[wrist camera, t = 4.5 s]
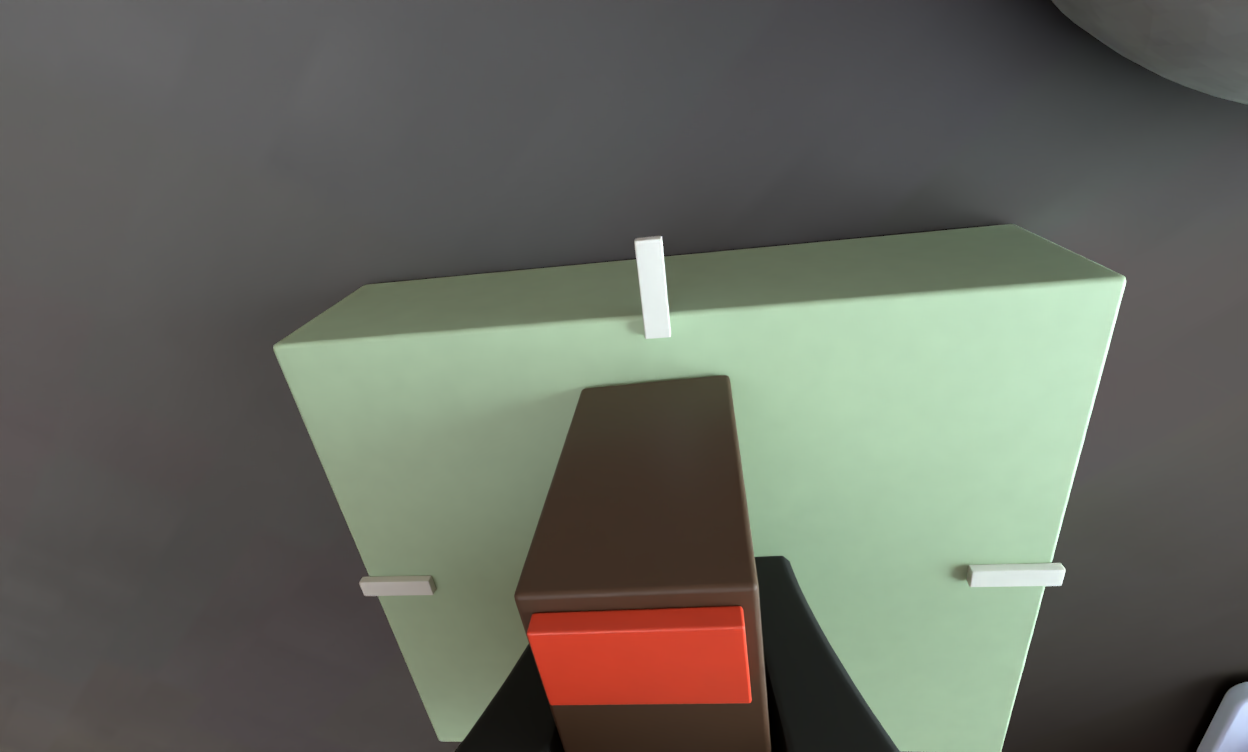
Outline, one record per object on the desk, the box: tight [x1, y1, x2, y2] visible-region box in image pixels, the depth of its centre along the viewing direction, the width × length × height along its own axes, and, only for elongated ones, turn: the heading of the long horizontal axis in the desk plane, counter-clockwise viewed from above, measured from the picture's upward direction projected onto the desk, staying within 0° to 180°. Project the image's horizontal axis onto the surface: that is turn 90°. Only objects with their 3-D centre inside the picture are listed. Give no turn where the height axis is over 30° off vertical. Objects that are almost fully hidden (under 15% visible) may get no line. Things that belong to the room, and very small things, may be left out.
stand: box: [273, 224, 1126, 752], centre depth 12 cm, size 12×12×3 cm
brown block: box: [514, 375, 771, 752], centre depth 9 cm, size 8×2×4 cm, turn 9°
